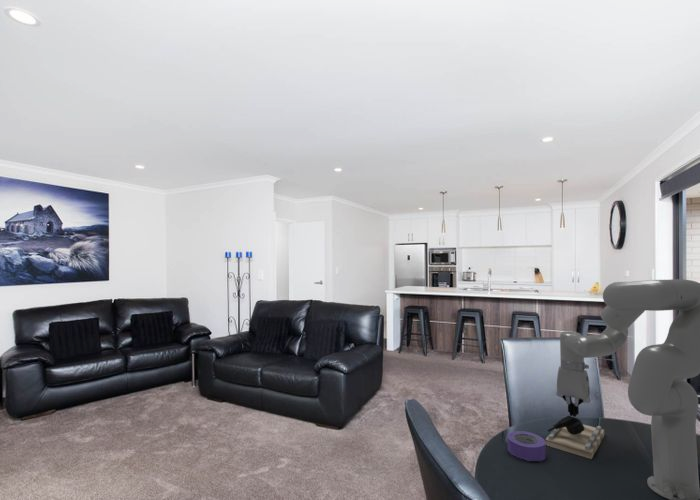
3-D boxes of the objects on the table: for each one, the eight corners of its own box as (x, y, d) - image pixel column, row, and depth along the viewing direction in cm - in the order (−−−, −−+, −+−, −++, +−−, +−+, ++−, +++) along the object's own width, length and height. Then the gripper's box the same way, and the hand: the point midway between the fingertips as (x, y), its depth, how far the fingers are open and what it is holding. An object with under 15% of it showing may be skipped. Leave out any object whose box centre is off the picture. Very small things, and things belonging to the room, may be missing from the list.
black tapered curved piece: (543, 425, 134) (571, 411, 134) (553, 444, 134) (582, 429, 133) (551, 432, 129) (580, 416, 129) (562, 451, 128) (591, 436, 128)
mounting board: (591, 459, 119) (591, 449, 119) (545, 445, 129) (545, 436, 129) (604, 435, 136) (604, 426, 137) (562, 424, 146) (562, 416, 146)
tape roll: (536, 466, 115) (535, 450, 116) (501, 452, 124) (500, 437, 125) (551, 454, 123) (551, 439, 123) (517, 442, 132) (517, 428, 132)
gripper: (598, 367, 132) (599, 418, 131) (552, 359, 143) (553, 406, 142) (593, 371, 127) (595, 424, 126) (547, 363, 137) (548, 412, 137)
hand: (573, 415), depth 134 cm, fingers closed
